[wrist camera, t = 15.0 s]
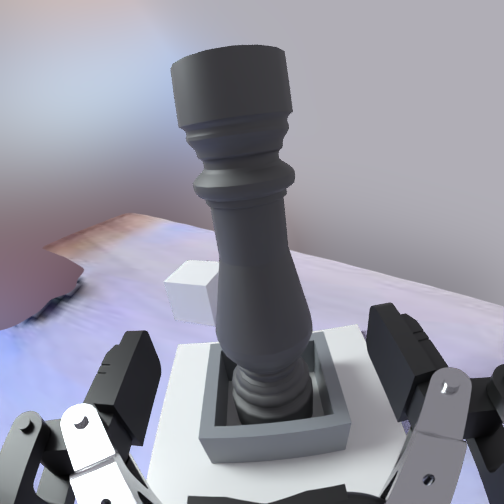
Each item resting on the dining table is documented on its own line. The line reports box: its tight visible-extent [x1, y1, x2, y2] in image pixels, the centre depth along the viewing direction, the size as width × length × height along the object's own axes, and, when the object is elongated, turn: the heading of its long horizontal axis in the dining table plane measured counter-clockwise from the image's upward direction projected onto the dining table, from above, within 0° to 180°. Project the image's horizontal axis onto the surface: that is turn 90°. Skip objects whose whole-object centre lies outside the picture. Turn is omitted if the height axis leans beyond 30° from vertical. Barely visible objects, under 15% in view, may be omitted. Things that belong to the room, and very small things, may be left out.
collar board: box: [146, 324, 406, 504], centre depth 23 cm, size 20×20×5 cm
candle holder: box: [171, 45, 313, 425], centre depth 18 cm, size 6×6×25 cm
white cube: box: [164, 260, 219, 327], centre depth 39 cm, size 6×6×6 cm
